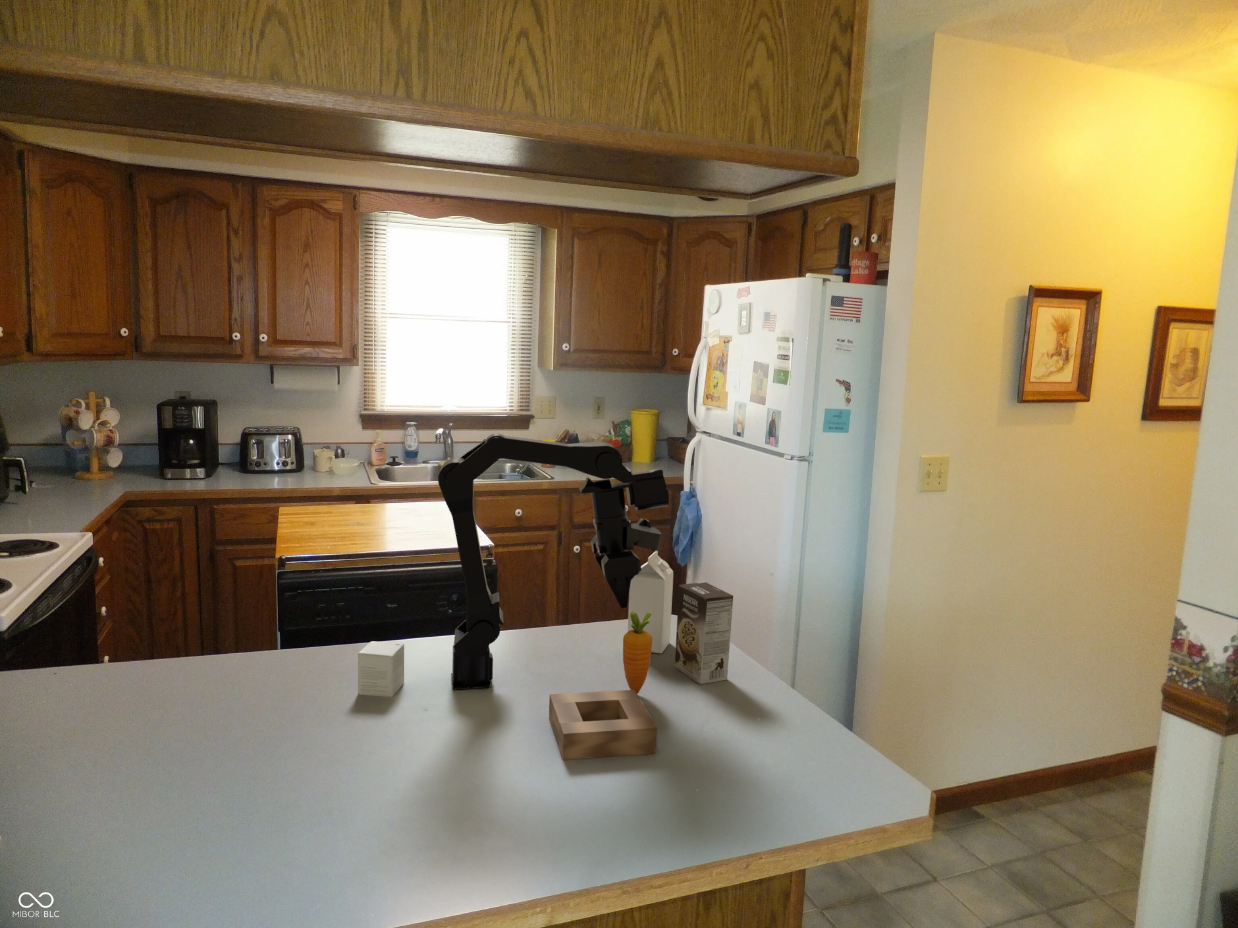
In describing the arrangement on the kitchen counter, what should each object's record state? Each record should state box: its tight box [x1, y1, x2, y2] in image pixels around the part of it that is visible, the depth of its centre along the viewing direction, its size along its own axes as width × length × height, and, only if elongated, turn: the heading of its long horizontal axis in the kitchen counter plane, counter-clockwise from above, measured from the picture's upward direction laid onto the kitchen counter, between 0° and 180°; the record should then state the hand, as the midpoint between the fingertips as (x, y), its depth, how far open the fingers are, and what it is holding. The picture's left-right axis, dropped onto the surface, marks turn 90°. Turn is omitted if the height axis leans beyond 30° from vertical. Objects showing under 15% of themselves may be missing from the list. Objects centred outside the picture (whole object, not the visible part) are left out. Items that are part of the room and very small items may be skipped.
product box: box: [357, 640, 405, 698], centre depth 145 cm, size 6×6×7 cm
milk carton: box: [627, 550, 674, 654], centre depth 170 cm, size 7×7×19 cm
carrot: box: [622, 612, 652, 695], centre depth 146 cm, size 5×5×15 cm
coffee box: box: [674, 582, 734, 685], centre depth 157 cm, size 9×6×16 cm
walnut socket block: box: [548, 689, 658, 761], centre depth 132 cm, size 14×14×4 cm
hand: (619, 599), depth 152 cm, fingers open, 9 cm apart
